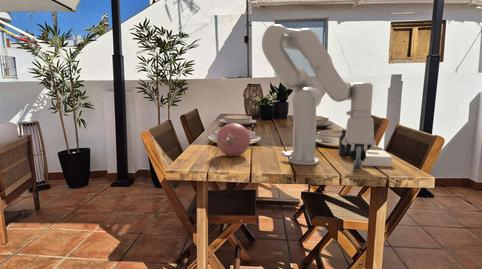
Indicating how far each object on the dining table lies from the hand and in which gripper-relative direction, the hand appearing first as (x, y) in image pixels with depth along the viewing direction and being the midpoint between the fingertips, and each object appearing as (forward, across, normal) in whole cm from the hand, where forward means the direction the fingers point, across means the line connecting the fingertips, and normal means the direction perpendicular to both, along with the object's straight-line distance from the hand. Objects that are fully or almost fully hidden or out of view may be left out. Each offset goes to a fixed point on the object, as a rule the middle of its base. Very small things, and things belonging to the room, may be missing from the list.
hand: (357, 159), depth 126 cm
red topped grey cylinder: (+3, 0, 0) cm, 3 cm away
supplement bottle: (+3, -1, +22) cm, 22 cm away
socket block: (+3, +8, +10) cm, 13 cm away
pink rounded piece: (+3, -53, +9) cm, 54 cm away
